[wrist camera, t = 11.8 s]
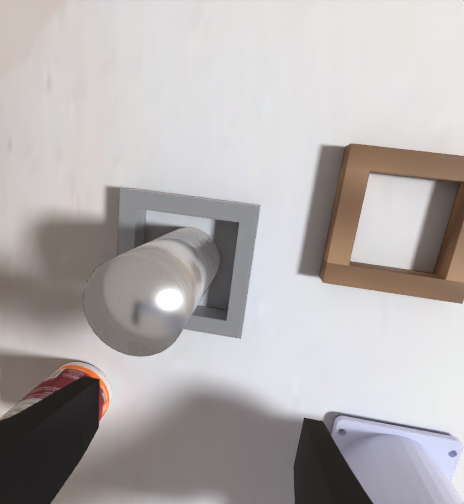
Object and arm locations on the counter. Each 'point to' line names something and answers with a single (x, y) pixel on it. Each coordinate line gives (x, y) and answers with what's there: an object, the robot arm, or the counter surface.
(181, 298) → the grey thick round cylinder
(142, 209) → the frame
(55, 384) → the pill bottle
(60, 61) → the counter surface
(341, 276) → the socket frame
